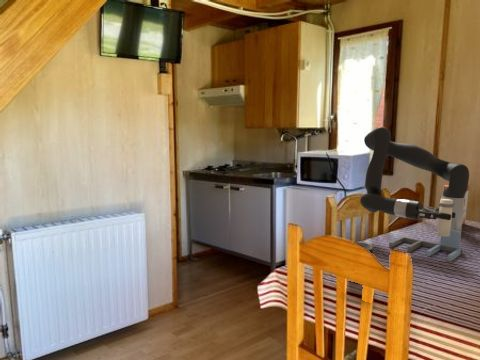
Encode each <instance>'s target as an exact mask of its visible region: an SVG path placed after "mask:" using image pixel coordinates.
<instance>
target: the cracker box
mask: <svg viewBox="0 0 480 360" xmlns="http://www.w3.org/2000/svg"><path fill="white" fill-rule="evenodd" d="M448 186H449V184H445V185H442V188H441V189H442V190H441V198H440V199H443V191H444V190H445V189H447V188H448ZM469 188H470V185H468V188H467V192H466V193H465V198H464V209H463V220H462V225H466V218H467V217H466V216H467V208H468V198H469V190H470V189H469Z"/></svg>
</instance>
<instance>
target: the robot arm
mask: <svg viewBox="0 0 480 360" xmlns="http://www.w3.org/2000/svg"><path fill="white" fill-rule="evenodd" d="M363 142H364V144H365V146H366V147H367V148H368V149H369V150H370V151H373V153H372V155H371V159H370V161H369V164H368V167H367V169H366V172H365V173H366V174H365V180H364V181H365V182H364V188H365V190H366V193H365V194H363V195H362V196H361V197H360V200H359V201H360V205H361V207H363V208H364V209H365V210H366V211H368V212H370V213H378V212H380V211H381V212H383V213H384V214H387V215H392V216H397V217H401V218H406V219H409V220H410V219H411V220H415V221H416V220H417V221H418V220H420V219H430V220H439V219H445V220H451V229H450V230H456V231H461V232H462V228H463V224H462V220H463V209H464V198H465V193H466V192H467V188H468V186H469V179H470V170H469V167H468V166H467V165H465V164H462V163H455V162H450V161H446V160H444V159H441V158H438V157H437V156H435V155H434V153H432V152H431V151H429V150H427V149H426V148H423V147H421V146H418V145H415V144H411V143H403V142H402V143H401V142H395V141H392V135H391V132H390V131H389V129H388V128H387V127H384V126H378V127H376V128H374V129H373V130H371V131H370V132H368V133H367V134H365V136H364V140H363ZM387 156H389V157H392V158H393V159H396V160H398V161H401V162H403V163H406V164H408V165H410V166H413V167H414V168H418V169H420V170H422V171H427V172H430V173H433V174H434V175H436V176H438V177H440V178H442V179H443V180H445V181H447V182H448V185H449V186H448V188H447V189H445V190H444V191H443V199H450V200H453V203H454V206H453V208H452V218H451V214H446V213H440V212H439V209H440V207H436V206H435V207H434V206H425V207H424V204H423V202H422V201H417V200H411V199H405V198H404V199H403V198H401V199H400V198H393V197H387V196H383V195H382V182H383V172H384V166H385V162H386V158H387Z"/></svg>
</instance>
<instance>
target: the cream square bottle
mask: <svg viewBox="0 0 480 360" xmlns="http://www.w3.org/2000/svg"><path fill="white" fill-rule="evenodd" d="M438 205H439V208H440V209H439V212H440V213H446V214H451V218H452V208H453V206H454V203H453V200H450V199H441V198H440V200H439V203H438ZM437 220H438V222H437V230H436V232H437V233H436V234H437V236H438V237H439V236H440V237H441V236H443V237H449V236H450V229H451V220H445V219H437Z"/></svg>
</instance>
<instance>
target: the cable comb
mask: <svg viewBox="0 0 480 360" xmlns="http://www.w3.org/2000/svg"><path fill="white" fill-rule="evenodd" d="M461 235H462V230H461V231H456V230H450V236H449V237H443V236H440V241H439V242H440V243H435V242H432V241H427V240H421V239H417V238H412V237H407V236H402V235H401V236H399V237H398V238H396V239H393V240H391V241H390V242H389V244H388V247H389V248H392V249H393V248H394V247H396V246H398V245H400V244H402V243H407V244H409V245H407V248H406V251H407V252H409V253H411V252H412V251H415V250H417V249H418V248H420V247H427V248H429V249H427V250H426V257H431V256H433V255H435V254H436V253H438V252H439V251H444V252H449V254H447V259H446V261H448V262H452V261H453V260H455V259H456V258H457V257H460V255H464V250H465V249H464V248H461V247H460V245H461V237H462V236H461Z"/></svg>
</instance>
